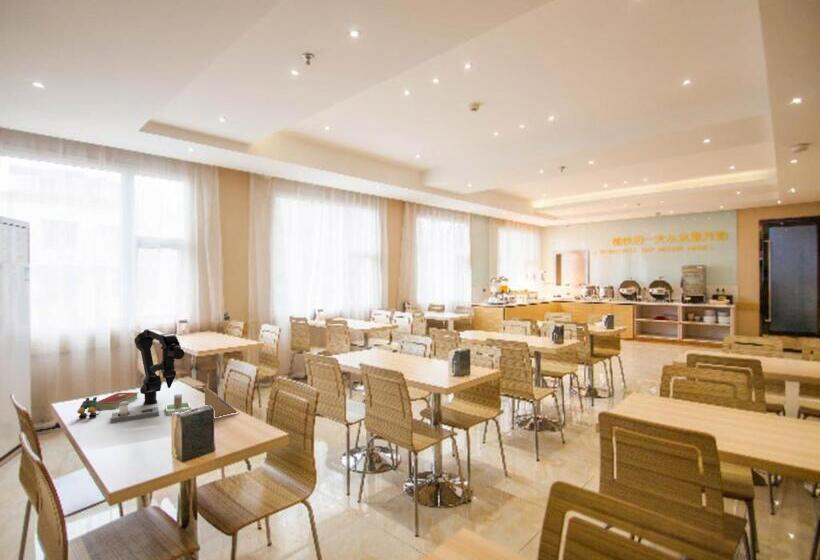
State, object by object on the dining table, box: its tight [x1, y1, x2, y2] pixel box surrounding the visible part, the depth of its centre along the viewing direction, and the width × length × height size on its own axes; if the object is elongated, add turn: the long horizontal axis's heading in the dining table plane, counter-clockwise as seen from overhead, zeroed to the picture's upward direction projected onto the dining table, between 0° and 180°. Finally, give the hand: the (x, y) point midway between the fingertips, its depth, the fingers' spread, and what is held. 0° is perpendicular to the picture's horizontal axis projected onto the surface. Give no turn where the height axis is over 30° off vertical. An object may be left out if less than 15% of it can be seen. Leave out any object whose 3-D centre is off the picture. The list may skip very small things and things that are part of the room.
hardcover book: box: [95, 392, 139, 410], centre depth 239 cm, size 12×21×4 cm, turn 4°
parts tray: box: [164, 401, 192, 416], centre depth 226 cm, size 12×11×2 cm
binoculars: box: [76, 396, 102, 419], centre depth 216 cm, size 9×9×10 cm
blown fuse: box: [173, 393, 183, 410], centre depth 226 cm, size 4×4×8 cm
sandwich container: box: [204, 387, 239, 417], centre depth 220 cm, size 9×15×15 cm, turn 131°
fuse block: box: [110, 406, 160, 424], centre depth 216 cm, size 10×20×2 cm, turn 123°
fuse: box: [118, 401, 129, 416], centre depth 213 cm, size 4×4×8 cm
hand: (168, 386), depth 231 cm, fingers open, 9 cm apart
